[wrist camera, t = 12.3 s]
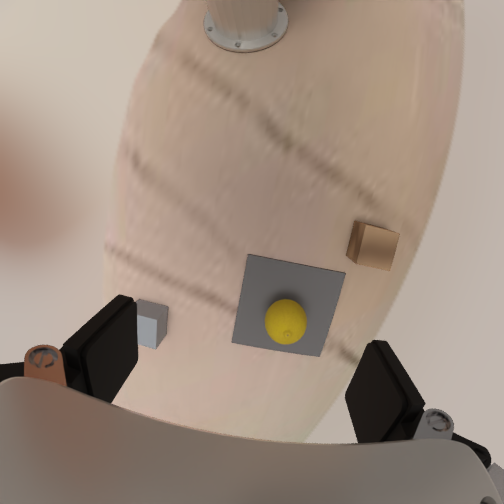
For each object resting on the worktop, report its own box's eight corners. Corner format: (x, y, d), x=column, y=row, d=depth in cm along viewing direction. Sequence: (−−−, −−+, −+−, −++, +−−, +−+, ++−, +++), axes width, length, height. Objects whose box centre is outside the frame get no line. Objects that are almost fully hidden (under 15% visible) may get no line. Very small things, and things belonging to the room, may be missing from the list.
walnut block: (354, 220, 37) (366, 224, 32) (385, 228, 37) (399, 233, 32) (345, 255, 38) (356, 263, 34) (376, 261, 38) (389, 271, 33)
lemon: (306, 320, 40) (314, 348, 32) (270, 330, 41) (270, 359, 33) (298, 286, 39) (305, 309, 31) (260, 296, 40) (258, 321, 32)
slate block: (139, 298, 42) (125, 311, 37) (168, 306, 41) (157, 320, 37) (138, 326, 43) (125, 340, 38) (166, 333, 43) (155, 349, 38)
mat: (248, 254, 39) (248, 254, 39) (345, 272, 39) (345, 273, 38) (231, 341, 42) (231, 342, 42) (319, 355, 42) (319, 356, 41)
